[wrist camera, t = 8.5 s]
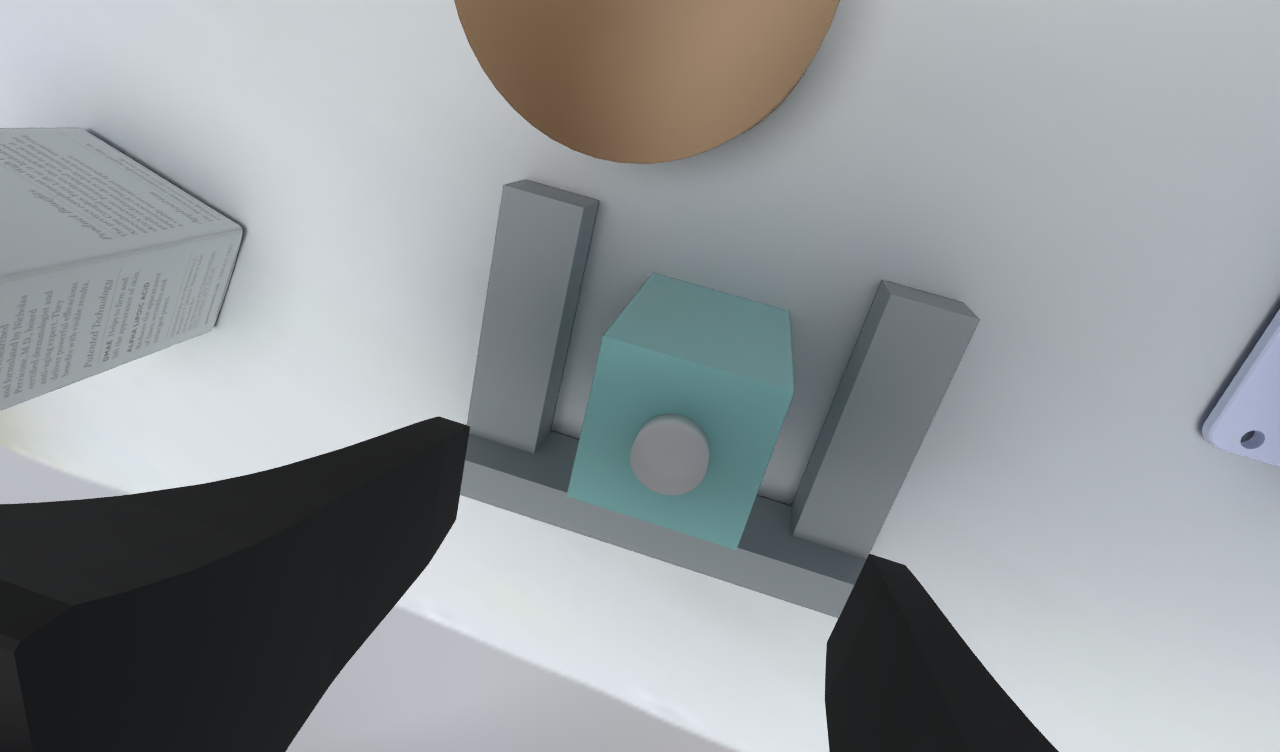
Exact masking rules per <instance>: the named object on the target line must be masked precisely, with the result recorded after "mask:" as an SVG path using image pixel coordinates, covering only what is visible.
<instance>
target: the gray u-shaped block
mask: <svg viewBox="0 0 1280 752" xmlns="http://www.w3.org/2000/svg"><path fill="white" fill-rule="evenodd" d="M598 203H599V200H596V199H592V198H589V197H585V196H581V195H578V194H574V193H571V192H567V191H564V190H560V189H557V188H553V187H549V186H546V185H542V184H539V183H535V182H532V181H528V180H521V181H517V182H514V183H510V184H506V185H503V191H502V198H501V204H500V211H499V217H498V224H497V230H496V237H495V244H494V250H493V257H492V263H491V270H490V276H489V283H488V290H487V296H486V303H485V309H484V316H483V323H482V329H481V336H480V342H479V349H478V355H477V362H476V369H475V375H474V382H473V388H472V395H471V401H470V408H469V415H468V421H467V426H470V432H469V438H468V445H467V451H466V458H465V464H464V471H463V477H462V484H461V490H460V495H462V496H465V497H469V498H472V499H475V500H478V501H481V502H484V503H487V504H490V505H493V506H496V507H499V508H502V509H505V510H508V511H511V512H514V513H518V514H521V515H524V516H527V517H530V518H533V519H536V520H539V521H542V522H545V523H548V524H551V525H554V526H557V527H560V528H564V529H567V530H570V531H573V532H576V533H579V534H582V535H585V536H588V537H591V538H594V539H597V540H600V541H603V542H606V543H610V544H613V545H616V546H619V547H622V548H625V549H628V550H631V551H634V552H637V553H640V554H643V555H646V556H649V557H652V558H656V559H659V560H662V561H665V562H668V563H671V564H674V565H677V566H680V567H683V568H686V569H689V570H692V571H695V572H698V573H702V574H705V575H708V576H711V577H714V578H717V579H720V580H723V581H726V582H729V583H732V584H735V585H738V586H741V587H744V588H748V589H751V590H754V591H757V592H760V593H763V594H766V595H769V596H772V597H775V598H778V599H781V600H784V601H787V602H790V603H794V604H797V605H800V606H803V607H806V608H809V609H812V610H815V611H818V612H821V613H824V614H827V615H830V616H833V617H836V618H839V616H840V614H841V612H842V610H843V608H844V606H845V604H846V602H847V600H848V597H849V595H850V593H851V591H852V589H853V587H854V585H855V583H856V580H857V578H858V576H859V574H860V572H861V570H862V568H863V566H864V564H865V561H866V559H867V557H868V555H869V553H870V551H871V549H872V547H873V545H874V543H875V541H876V538H877V536H878V534H879V532H880V530H881V528H882V526H883V524H884V522H885V519H886V517H887V515H888V513H889V511H890V509H891V507H892V505H893V503H894V500H895V498H896V496H897V494H898V492H899V490H900V488H901V486H902V483H903V481H904V479H905V477H906V475H907V473H908V471H909V469H910V467H911V464H912V462H913V460H914V458H915V456H916V454H917V452H918V450H919V447H920V445H921V443H922V441H923V439H924V437H925V435H926V433H927V431H928V428H929V426H930V424H931V422H932V420H933V418H934V416H935V414H936V411H937V409H938V407H939V405H940V403H941V401H942V399H943V397H944V395H945V392H946V390H947V388H948V386H949V384H950V382H951V380H952V378H953V375H954V373H955V371H956V369H957V367H958V365H959V363H960V361H961V359H962V356H963V354H964V352H965V350H966V348H967V346H968V344H969V342H970V339H971V337H972V335H973V333H974V331H975V329H976V327H977V325H978V323H979V320H980V319H979V318H978V317H977V316H976V315H975V314H974V313H973V312H972V311H971V310H970V309H969V308H968V307H967V306H966V305H965V304H964V303H963V302H959V301H956V300H952V299H948V298H945V297H941V296H938V295H934V294H931V293H927V292H923V291H920V290H916V289H913V288H909V287H906V286H902V285H899V284H895V283H891V282H888V281H884V280H881V283H880V285H879V288H878V290H877V293H876V295H875V298H874V300H873V303H872V305H871V308H870V310H869V313H868V315H867V318H866V320H865V323H864V326H863V328H862V331H861V333H860V336H859V338H858V341H857V343H856V346H855V348H854V351H853V353H852V356H851V358H850V361H849V363H848V366H847V368H846V371H845V373H844V376H843V378H842V381H841V383H840V386H839V388H838V391H837V393H836V396H835V398H834V401H833V403H832V406H831V408H830V411H829V413H828V416H827V418H826V421H825V423H824V426H823V428H822V431H821V433H820V436H819V438H818V441H817V443H816V446H815V448H814V451H813V453H812V456H811V458H810V461H809V463H808V466H807V468H806V471H805V473H804V476H803V478H802V481H801V483H800V486H799V488H798V491H797V493H796V496H795V498H794V501H793V504H792V506H789V505H786V504H782V503H779V502H776V501H773V500H770V499H767V498H763V497H760V496H757V495H756V498H755V501H754V503H753V506H752V509H751V512H750V514H749V517H748V520H747V523H746V525H745V528H744V531H743V533H742V536H741V539H740V542H739V544H738V547H737V550H734V549H731V548H727V547H724V546H721V545H718V544H715V543H712V542H709V541H705V540H702V539H699V538H696V537H693V536H690V535H687V534H684V533H680V532H677V531H674V530H671V529H668V528H665V527H662V526H658V525H655V524H652V523H649V522H646V521H643V520H640V519H636V518H633V517H630V516H627V515H624V514H621V513H618V512H614V511H611V510H608V509H605V508H602V507H599V506H596V505H592V504H589V503H586V502H583V501H580V500H577V499H574V498H570V497H567V492H568V488H569V483H570V479H571V474H572V470H573V466H574V461H575V457H576V452H577V448H578V444H579V440H578V439H575V438H572V437H569V436H566V435H562V434H559V433H556V432H553V431H551V426H552V421H553V416H554V412H555V407H556V402H557V397H558V393H559V388H560V383H561V378H562V374H563V369H564V364H565V359H566V355H567V350H568V345H569V340H570V336H571V331H572V326H573V321H574V317H575V312H576V307H577V302H578V298H579V293H580V288H581V283H582V279H583V274H584V269H585V264H586V260H587V255H588V250H589V245H590V241H591V236H592V231H593V227H594V222H595V217H596V212H597V208H598Z"/></svg>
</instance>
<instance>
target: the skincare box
mask: <svg viewBox="0 0 1280 752" xmlns="http://www.w3.org/2000/svg"><path fill="white" fill-rule="evenodd" d="M242 234H243V230H242V227H241V226H239V225H238V224H237V223H235V222H233V221H232V220H230V219H228V218H227V217H225V216H223V215H222V214H220V213H218V212H217V211H215V210H214V209H212V208H210V207H209V206H207V205H205V204H204V203H202V202H201V201H199V200H197V199H196V198H194V197H192V196H191V195H189V194H188V193H186V192H184V191H183V190H181V189H179V188H178V187H176V186H175V185H173V184H171V183H170V182H168V181H167V180H165V179H163V178H162V177H160V176H158V175H157V174H155V173H154V172H152V171H150V170H149V169H147V168H145V167H144V166H142V165H141V164H139V163H137V162H136V161H134V160H133V159H131V158H129V157H128V156H126V155H124V154H123V153H121V152H120V151H118V150H116V149H115V148H113V147H112V146H110V145H108V144H107V143H105V142H103V141H102V140H100V139H98V138H97V137H95V136H94V135H92V134H90V133H89V132H87V131H85V130H84V129H81V128H0V411H1V410H4V409H6V408H9V407H11V406H14V405H17V404H19V403H22V402H24V401H27V400H30V399H32V398H35V397H38V396H40V395H43V394H46V393H48V392H51V391H54V390H56V389H59V388H62V387H64V386H67V385H69V384H72V383H75V382H78V381H80V380H83V379H85V378H88V377H91V376H94V375H97V374H99V373H102V372H104V371H107V370H109V369H112V368H115V367H117V366H120V365H122V364H125V363H128V362H130V361H133V360H136V359H138V358H141V357H143V356H146V355H149V354H152V353H154V352H157V351H159V350H162V349H165V348H167V347H170V346H172V345H174V344H177V343H180V342H183V341H185V340H188V339H190V338H193V337H196V336H199V335H202V334H204V333H207V332H209V331H211V330H212V327H213V326H214V324H215V322H216V319H217V317H218V313H219V311H220V308H221V306H222V302H223V300H224V297H225V294H226V290H227V288H228V284H229V281H230V278H231V275H232V272H233V268H234V265H235V262H236V258H237V254H238V251H239V247H240V243H241V239H242Z"/></svg>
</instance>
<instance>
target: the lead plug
mask: <svg viewBox="0 0 1280 752" xmlns="http://www.w3.org/2000/svg"><path fill="white" fill-rule="evenodd" d="M793 394H794V381H793V364H792V346H791V328H790V311H787V310H783V309H780V308H776V307H773V306H769V305H766V304H762V303H759V302H755V301H752V300H748V299H745V298H741V297H738V296H734V295H730V294H727V293H723V292H720V291H716V290H713V289H709V288H706V287H702V286H699V285H695V284H692V283H688V282H685V281H681V280H678V279H674V278H671V277H667V276H664V275H660V274H657V273H653V274H652V275H651V276H650V277H649V279H648V280H647V281H646V282H645V284H644V285H643V286H642V287H641V289H640V290H639V291H638V293H637V294H636V295H635V296H634V298H633V299H632V300H631V301H630V303H629V304H628V305H627V306H626V308H625V309H624V310H623V311H622V313H621V314H620V315H619V316H618V318H617V319H616V320H615V322H614V323H613V324H612V325H611V327H610V328H609V329H608V330H607V332H606V333H605V334H604V335H603V338H602V343H601V347H600V352H599V356H598V360H597V365H596V369H595V374H594V378H593V382H592V387H591V391H590V395H589V400H588V404H587V409H586V413H585V417H584V422H583V426H582V431H581V435H580V439H579V444H578V448H577V452H576V457H575V461H574V466H573V470H572V474H571V479H570V483H569V488H568V492H567V497H570V498H574V499H577V500H580V501H583V502H586V503H589V504H592V505H596V506H599V507H602V508H605V509H608V510H611V511H614V512H618V513H621V514H624V515H627V516H630V517H633V518H636V519H640V520H643V521H646V522H649V523H652V524H655V525H658V526H662V527H665V528H668V529H671V530H674V531H677V532H680V533H684V534H687V535H690V536H693V537H696V538H699V539H702V540H705V541H709V542H712V543H715V544H718V545H721V546H724V547H727V548H731V549H734V550H737V547H738V544H739V542H740V539H741V536H742V533H743V531H744V528H745V525H746V523H747V520H748V517H749V514H750V512H751V509H752V506H753V503H754V501H755V498H756V495H757V492H758V490H759V487H760V484H761V482H762V479H763V476H764V473H765V471H766V468H767V465H768V462H769V460H770V457H771V454H772V451H773V449H774V446H775V443H776V440H777V438H778V435H779V432H780V430H781V427H782V424H783V421H784V419H785V416H786V413H787V410H788V408H789V405H790V402H791V399H792V397H793Z"/></svg>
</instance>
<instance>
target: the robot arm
mask: <svg viewBox="0 0 1280 752" xmlns="http://www.w3.org/2000/svg"><path fill="white" fill-rule="evenodd" d="M1253 430H1254V431H1255V433H1254V436H1253V437H1252V438H1251V439H1250V440H1248V441H1245V442H1240V441H1241V438H1242V436H1243V435H1244V434H1245V433H1247V432H1250V431H1253ZM469 432H470V426H467V425H464V424H461V423H458V422H455V421H451V420H448V419H445V418H442V417H435V418H431V419H428V420H424V421H421V422H418V423H415V424H412V425H409V426H406V427H403V428H401V429H398V430H395V431H392V432H389V433H386V434H384V435H381V436H378V437H375V438H372V439H369V440H366V441H363V442H360V443H357V444H354V445H351V446H348V447H345V448H342V449H339V450H336V451H333V452H329V453H326V454H323V455H319V456H316V457H312V458H309V459H306V460H302V461H299V462H295V463H292V464H289V465H285V466H282V467H278V468H274V469H270V470H266V471H262V472H258V473H254V474H249V475H245V476H240V477H235V478H230V479H225V480H221V481H216V482H211V483H205V484H200V485H193V486H186V487H179V488H173V489H166V490H159V491H152V492H145V493H139V494H132V495H123V496H114V497H104V498H94V499H84V500H71V501H56V502H42V503H24V504H0V752H285V751H286V750H287V748H288V746H289V745H290V744H291V742H292V740H293V739H294V737H295V736H296V735H297V733H298V731H299V730H300V729H301V727H302V726H303V724H304V723H305V721H306V720H307V718H308V717H309V715H310V714H311V712H312V711H313V709H314V708H315V706H316V705H317V703H318V702H319V700H320V699H321V698H322V696H323V695H324V693H325V692H326V690H327V689H328V687H329V686H330V684H331V683H332V682H333V680H334V679H335V678H336V677H337V675H338V674H339V673H340V671H341V670H342V669H343V667H344V666H345V665H346V663H347V662H348V661H349V660H350V659H351V657H352V656H353V655H354V654H355V652H356V651H357V650H358V649H359V648H360V647H361V645H362V644H363V643H364V642H365V640H366V639H367V638H368V637H369V636H370V634H371V633H372V632H373V631H374V629H375V628H376V627H377V626H378V625H379V623H380V622H381V621H382V620H383V619H384V618H385V616H386V615H387V614H388V613H389V612H390V610H391V609H392V608H393V607H394V606H395V604H396V603H397V602H398V601H399V600H400V598H401V597H402V596H403V595H404V593H405V592H406V591H407V590H408V589H409V587H410V586H411V585H412V584H413V582H414V581H415V580H416V579H417V578H418V576H419V575H420V574H421V573H422V571H423V570H424V569H425V568H426V566H427V565H428V564H429V562H430V561H431V559H432V558H433V556H434V554H435V553H436V551H437V550H438V548H439V547H440V545H441V543H442V542H443V540H444V538H445V537H446V535H447V534H448V532H449V530H450V529H451V527H452V525H453V524H454V522H455V520H456V516H457V510H458V503H459V497H460V490H461V484H462V477H463V471H464V464H465V458H466V451H467V445H468V438H469ZM1202 435H1203V437H1204V438H1205V440H1206V441H1207V442H1208V443H1210V444H1211V445H1212V446H1214V447H1216V448H1218V449H1220V450H1223V451H1226V452H1230V453H1233V454H1237V455H1240V456H1244V457H1247V458H1251V459H1254V460H1257V461H1261V462H1264V463H1268V464H1271V465H1275V466H1278V467H1280V309H1279V311H1278V312H1277V314H1276V315H1275V317H1274V318H1273V320H1272V321H1271V323H1270V324H1269V326H1268V327H1267V329H1266V330H1265V332H1264V333H1263V335H1262V336H1261V338H1260V339H1259V341H1258V342H1257V344H1256V345H1255V347H1254V348H1253V350H1252V351H1251V353H1250V354H1249V356H1248V357H1247V359H1246V360H1245V362H1244V364H1243V365H1242V367H1241V368H1240V370H1239V371H1238V373H1237V374H1236V376H1235V377H1234V379H1233V380H1232V382H1231V383H1230V385H1229V386H1228V388H1227V389H1226V391H1225V392H1224V394H1223V395H1222V397H1221V398H1220V400H1219V401H1218V403H1217V404H1216V406H1215V407H1214V409H1213V410H1212V412H1211V413H1210V415H1209V416H1208V418H1207V420H1206V421H1205V423H1204V425H1203V428H1202ZM825 706H826V717H827V728H828V738H829V749H830V752H1059V751H1058V750H1057V749H1056V748H1055V747H1054V746H1053V745H1052V744H1051V743H1050V742H1049V741H1048V740H1047V739H1046V738H1045V737H1044V736H1043V734H1042V733H1041V732H1040V731H1039V730H1038V729H1037V728H1036V727H1035V726H1034V725H1033V724H1032V722H1031V721H1030V720H1029V719H1028V718H1027V717H1026V716H1025V714H1024V713H1023V712H1022V711H1021V710H1020V709H1019V707H1018V706H1017V705H1016V704H1015V703H1014V702H1013V700H1012V699H1011V698H1010V697H1009V696H1008V695H1007V693H1006V692H1005V691H1004V690H1003V689H1002V688H1001V686H1000V685H999V684H998V683H997V682H996V680H995V679H994V678H993V677H992V676H991V674H990V673H989V672H988V671H987V669H986V668H985V667H984V666H983V664H982V663H981V662H980V661H979V659H978V658H977V657H976V656H975V654H974V653H973V652H972V651H971V649H970V648H969V647H968V645H967V644H966V643H965V642H964V640H963V639H962V638H961V636H960V635H959V634H958V632H957V631H956V630H955V629H954V627H953V626H952V625H951V623H950V622H949V621H948V619H947V618H946V617H945V615H944V614H943V613H942V611H941V610H940V609H939V607H938V606H937V605H936V603H935V602H934V601H933V599H932V598H931V597H930V595H929V594H928V593H927V592H926V590H925V589H924V588H923V586H922V585H921V584H920V582H919V581H918V580H917V579H916V577H915V576H914V575H913V574H912V573H911V571H910V570H909V569H908V568H907V567H906V566H905V565H903V564H900V563H896V562H893V561H890V560H887V559H884V558H881V557H878V556H875V555H871V554H869V555H868V557H867V559H866V561H865V564H864V566H863V568H862V570H861V572H860V574H859V576H858V578H857V580H856V583H855V585H854V587H853V589H852V591H851V593H850V595H849V597H848V600H847V602H846V604H845V606H844V608H843V610H842V612H841V614H840V616H839V619H838V621H837V623H836V625H835V627H834V629H833V631H832V633H831V635H830V638H829V640H828V642H827V652H826V674H825Z"/></svg>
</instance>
